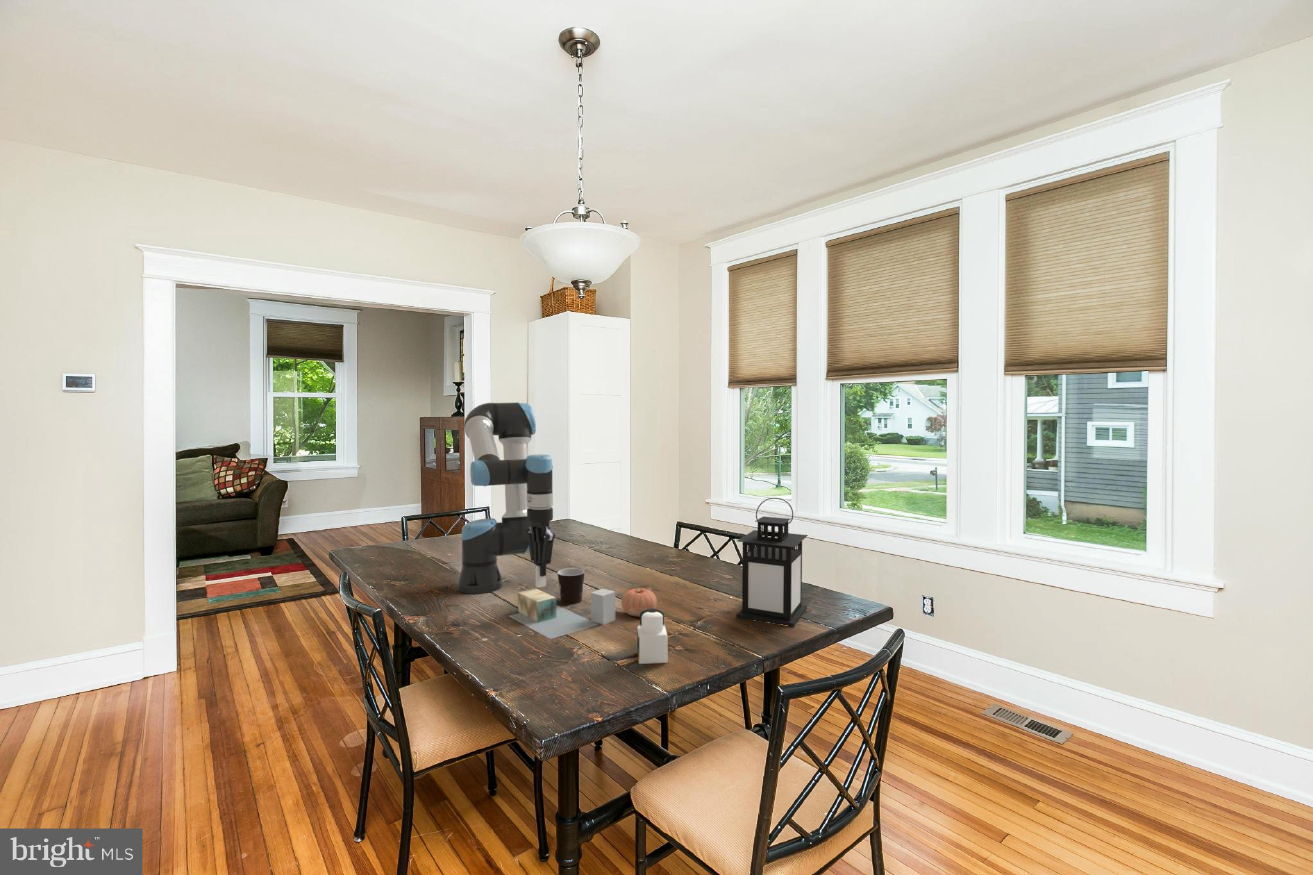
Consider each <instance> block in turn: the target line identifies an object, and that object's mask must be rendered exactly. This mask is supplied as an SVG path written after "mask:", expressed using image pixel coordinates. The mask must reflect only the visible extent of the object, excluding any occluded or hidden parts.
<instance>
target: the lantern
mask: <svg viewBox="0 0 1313 875" xmlns="http://www.w3.org/2000/svg"><path fill="white" fill-rule="evenodd" d="M774 499H775V500H780V501H783V502H785V503H786V504H787V505H788V506H789V507H790V510H791V518H788V517H787V518H786V517H777V516H775V517H774V516H773V517H772V516H761V517H759V518H758V510H759V509H760V507H761V505H762V504H763V503H765V502H766V501H769V500H774ZM755 518H756V520H755V521H754V522H755V523H756V522H757V530H756V529H754V530H752V531H750V532H749V533H747V534H745V535H744V536H742V537H740V538H739V539H737V540H736V542H739V543H740V542H741V543H742V568H741V569H742V571H741V572H742V574H741V575H742V581H741V583H742V586H741V588H742V590H741V591H742V595H741V596H742V598H741V599H742V602H741V603H742V604H741V606H742V607H741V609H740V610H739V611H738V612H737V613H736V614H735V619H738V618H739V620H744V619H747V620H746V621H750V620H756V621H755V622H757V621H761V622H760V623H763V622H770V623H775V624H774V625H776V624H783V625H788V626H795V627H796V625H797V624H798V623H797V622H799V621H800V620H801V618H802V617H803V616H804V614H805V613H806V611H807V610H808V605H807V604H803V603H802V602H803V600H802V599H803V598H802V595H803V592H802V590H803V589H802V588H803V584H802V583H803V540H805V539H806V538H807V537H808V536H809V534H808V535H807V534H800V533H799V534H798V533H791V532H790V533H789V524H791V523H792V521H793V520H794V510H793V507H792V505H791V504H790V503H789V502H788V501H786V500H785V499H784V498H781V497H768V498H767V499H764V500H763V501H761V503H760V504H759V505H758V506H757V508H756V513H755ZM769 527H771V528H770V529H771V530H770V531H769ZM776 527H777V532H776ZM806 609H807V610H806ZM805 610H806V611H805ZM804 612H805V613H804ZM803 613H804V614H803ZM802 615H803V616H802ZM801 616H802V617H801ZM800 617H801V618H800ZM799 619H800V620H799ZM798 620H799V621H798ZM796 623H797V624H796ZM795 624H796V625H795ZM788 626H787V627H788Z"/></svg>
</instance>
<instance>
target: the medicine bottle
mask: <svg viewBox="0 0 1313 875" xmlns="http://www.w3.org/2000/svg"><path fill="white" fill-rule="evenodd" d="M666 629H667V628H666V625H665V613H664V611H662V610H660V609H658V608H655V609H646V610H643V611H642V612H641V613H640V617H639V625H637V627H636V637H637V639H636V640H637V641H636V642H637V643H636V645H637V646H636V651H637V662H638V664H639V665H645V664H646V665H647V664H648V665H650V664H667V663H668V661H669V660H668V659H669V658H668V646H669V645H668V638H669V637H668V632H667V630H666Z"/></svg>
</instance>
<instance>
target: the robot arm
mask: <svg viewBox="0 0 1313 875" xmlns="http://www.w3.org/2000/svg"><path fill="white" fill-rule="evenodd" d="M536 425H537V423H536V416H535V412H534V409H533V407H532V406H531V404H529V403H527V402H526V403H525V402H485V403H482V404H479V405H477V406H475V407H474V408H473V409H472V410H470V411H469V413H468V414H467V416H466V417H465V419H464V423H463V428H464V434H465V435H466V436H467V438H468V439H469V442H470V446H471V450H472V455H473V460H474V461H471V463H470V470H469V472H470V474H469V475H470V483H471V484H472V485H473V486H475V487H487V486H504V496H505V497H504V499H505V513H504V514H503V515H502V516H501V521H500V522H497V520H496V518H491V517H489V518H481V519H475V520H472V521H469V522H467V523H464V525H463V526H462V528H461V537H460V540H461V570H460V572H459V576H458V579H457V582H456V587H457V591H458V592H460V593H463V594H470V595H471V594H476V595H477V594H485V593H490V592H491V593H492V592H494V591H498V590H500V589H501V588H502V587H503V577H502V575H501V572H500V569H499V566H498V562H497V561H498V557H501V556H512V555H525V554H529V557H530V561H532V562H533V564H534V565H535V570H534V573H535V588H537V589H538V588H543V587H547V565H550V564H551V563H552V555H553V547H554V540H555V537H556V534H555V533H554V532H551V526H550V522H551V521H552V520H554V508H553V506H554V499H553V498H554V493H553V489H554V488H553V470H554V465H553V458H552V456H551V455H550V454H530V455H529V449H528V445H529V443H530V441H532V436H533V435H535V434H536V432H537V428H536V427H537V426H536ZM494 436H498V442H499V443H500V444H502V447H503V448H502V449H503V459H501V457H500V455H499V451H498V447H497V444H496V442H495V437H494Z"/></svg>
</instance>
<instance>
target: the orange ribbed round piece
mask: <svg viewBox="0 0 1313 875" xmlns="http://www.w3.org/2000/svg"><path fill="white" fill-rule="evenodd" d="M620 603H621V604H620V605H621V607H622V609H623V611H624V612H625V613H626V614H627V615H629V616H630V617H636V618H640V613H641V612H642V611H643V610H646V609H657V606H658V598H657V597H656V595H655V593H654V592H653V591H651V590H650V589H646V588H642V587H641V588H638V587H637V588H632V589H629V590H628V591H625V593H624V594H623V595H622V597H621V602H620Z"/></svg>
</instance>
